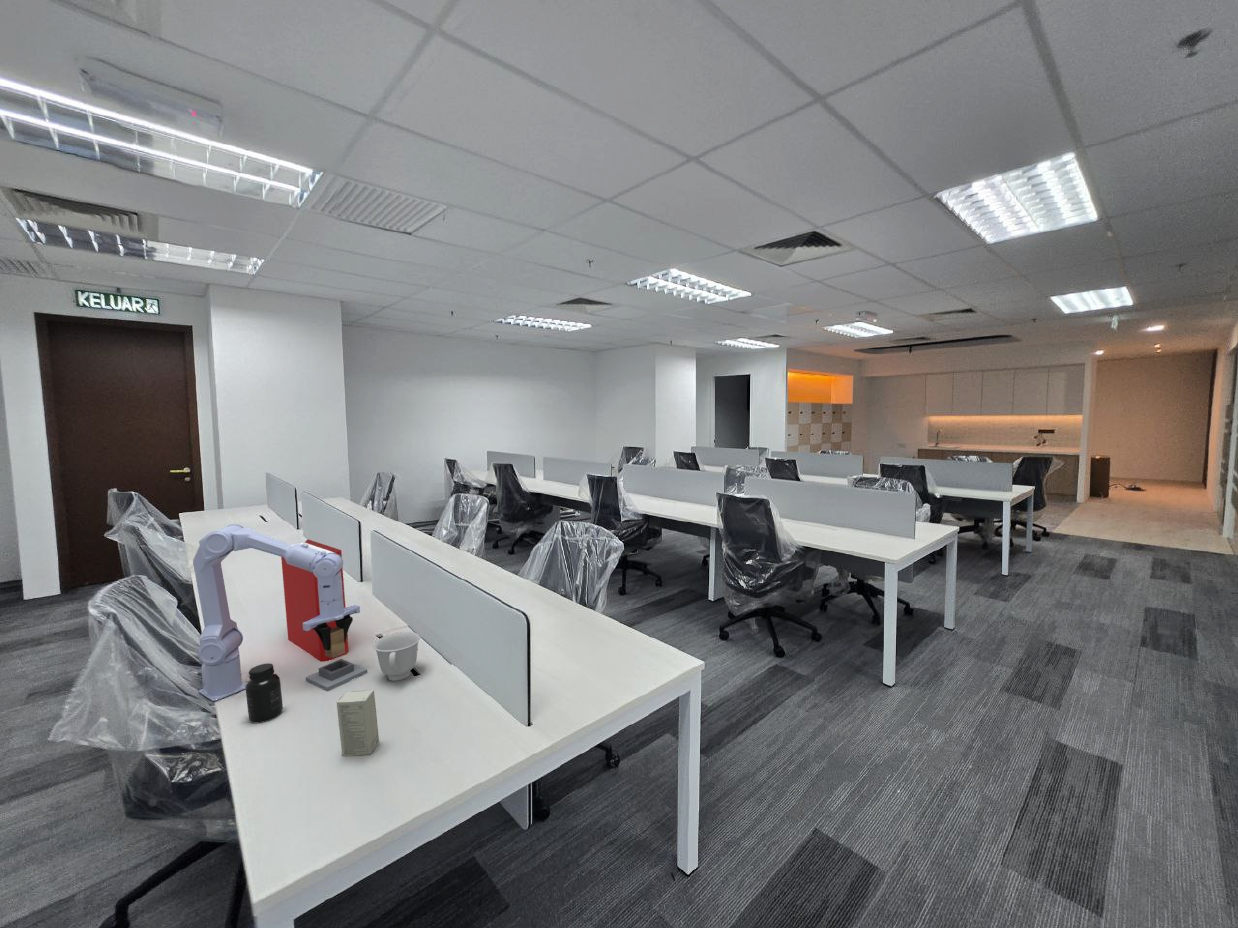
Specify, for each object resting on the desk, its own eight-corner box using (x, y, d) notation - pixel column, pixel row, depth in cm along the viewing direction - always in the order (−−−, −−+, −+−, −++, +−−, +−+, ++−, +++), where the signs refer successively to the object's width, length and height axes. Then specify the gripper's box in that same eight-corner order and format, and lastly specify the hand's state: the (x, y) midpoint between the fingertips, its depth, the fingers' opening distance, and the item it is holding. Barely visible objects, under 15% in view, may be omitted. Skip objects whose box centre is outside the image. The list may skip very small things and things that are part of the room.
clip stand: (305, 680, 137) (304, 670, 136) (345, 663, 146) (344, 653, 146) (327, 691, 131) (326, 680, 131) (367, 672, 140) (366, 662, 140)
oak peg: (325, 655, 137) (323, 630, 137) (338, 650, 140) (336, 626, 140) (332, 658, 135) (330, 633, 135) (345, 652, 138) (343, 628, 138)
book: (288, 639, 164) (280, 544, 161) (314, 631, 170) (307, 539, 167) (322, 663, 147) (314, 556, 144) (350, 652, 153) (343, 550, 150)
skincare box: (379, 742, 109) (376, 689, 108) (370, 755, 105) (366, 700, 104) (350, 743, 109) (346, 690, 108) (339, 756, 105) (335, 701, 103)
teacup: (368, 695, 128) (366, 658, 127) (379, 668, 142) (377, 634, 142) (418, 688, 131) (416, 651, 130) (424, 662, 146) (422, 629, 145)
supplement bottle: (277, 703, 125) (273, 658, 124) (287, 713, 121) (283, 666, 120) (244, 716, 120) (240, 669, 119) (253, 727, 116) (248, 677, 115)
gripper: (311, 609, 128) (315, 660, 129) (364, 592, 141) (368, 639, 142) (297, 605, 132) (301, 654, 133) (350, 588, 144) (353, 634, 145)
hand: (334, 646), depth 138 cm, fingers closed on oak peg, 3 cm apart
